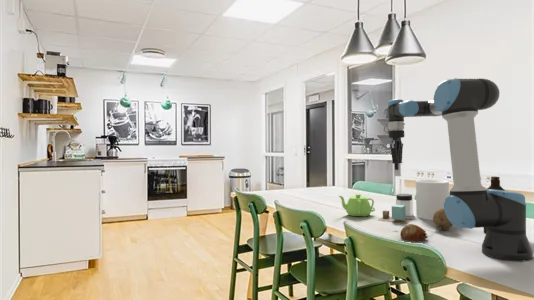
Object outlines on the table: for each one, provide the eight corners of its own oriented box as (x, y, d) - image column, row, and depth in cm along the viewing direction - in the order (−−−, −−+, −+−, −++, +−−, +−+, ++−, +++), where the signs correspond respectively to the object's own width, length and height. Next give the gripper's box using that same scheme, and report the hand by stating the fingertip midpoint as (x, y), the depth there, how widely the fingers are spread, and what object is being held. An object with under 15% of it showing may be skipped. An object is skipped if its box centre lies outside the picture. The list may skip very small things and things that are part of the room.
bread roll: (409, 243, 154) (401, 226, 156) (431, 236, 148) (422, 218, 150) (402, 248, 147) (393, 230, 149) (425, 241, 141) (416, 223, 143)
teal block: (402, 220, 174) (401, 207, 174) (391, 219, 177) (391, 206, 177) (405, 218, 178) (405, 205, 178) (395, 217, 181) (395, 204, 181)
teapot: (355, 221, 184) (355, 197, 183) (338, 216, 196) (337, 194, 196) (377, 217, 191) (377, 194, 191) (359, 213, 204) (358, 191, 203)
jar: (393, 215, 194) (392, 194, 194) (405, 214, 197) (404, 193, 196) (403, 218, 186) (403, 196, 185) (416, 217, 188) (415, 195, 188)
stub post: (387, 218, 184) (387, 211, 184) (382, 217, 185) (382, 211, 185) (389, 217, 186) (389, 210, 186) (384, 216, 187) (384, 210, 187)
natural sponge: (441, 233, 155) (441, 211, 155) (428, 228, 164) (428, 207, 164) (459, 231, 157) (458, 209, 157) (445, 226, 166) (445, 206, 166)
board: (406, 225, 170) (406, 223, 170) (376, 222, 180) (376, 220, 180) (413, 221, 179) (413, 219, 179) (385, 217, 189) (385, 216, 189)
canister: (434, 214, 194) (433, 178, 193) (457, 220, 178) (456, 181, 178) (410, 216, 190) (409, 180, 189) (430, 223, 174) (430, 183, 174)
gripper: (399, 129, 169) (400, 177, 169) (407, 129, 179) (409, 175, 180) (384, 130, 174) (385, 177, 174) (393, 130, 184) (394, 174, 184)
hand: (397, 176), depth 177 cm, fingers closed
